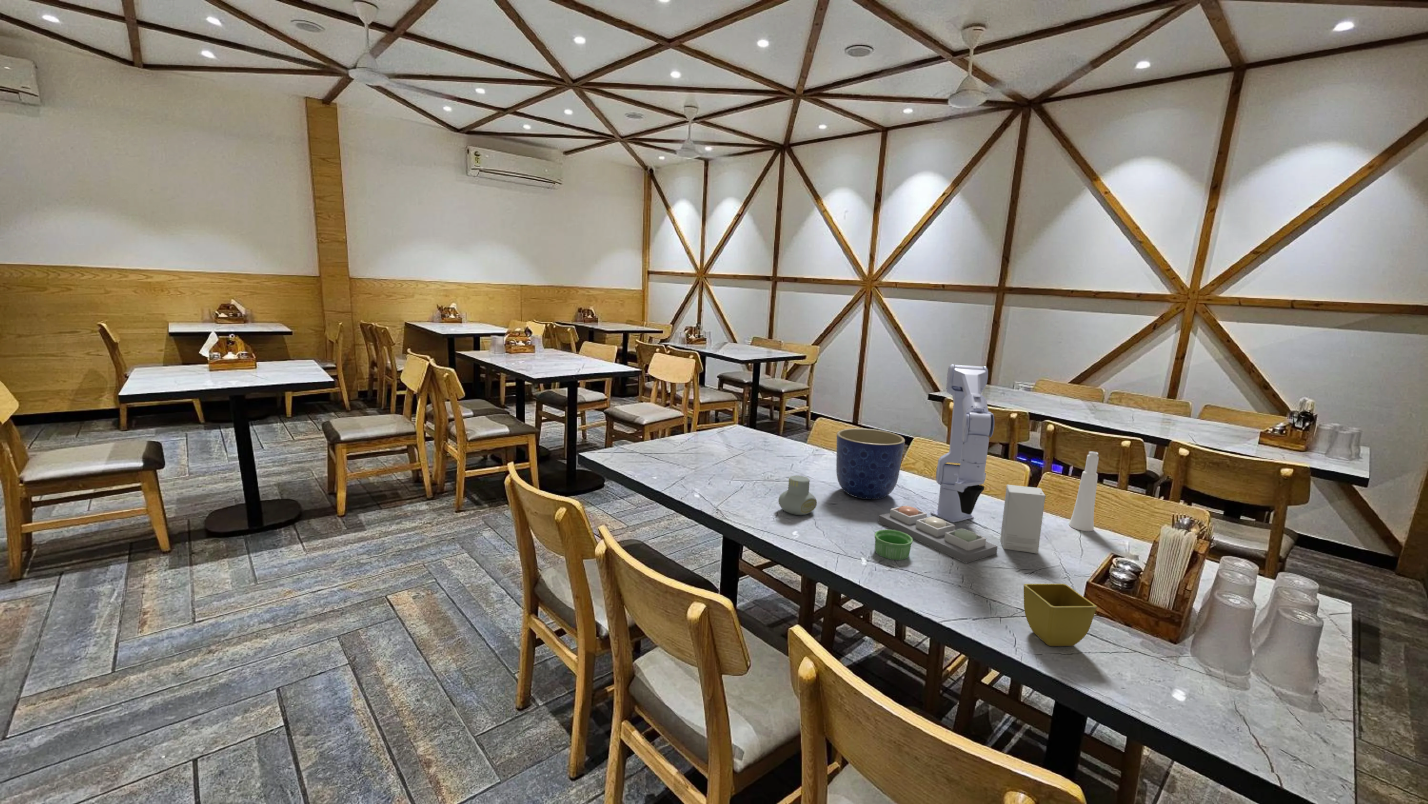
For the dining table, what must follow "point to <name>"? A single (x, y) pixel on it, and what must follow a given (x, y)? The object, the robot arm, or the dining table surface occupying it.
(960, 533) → the sage button
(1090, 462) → the cosmetic bottle
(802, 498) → the air freshener
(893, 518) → the button panel
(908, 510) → the terracotta button
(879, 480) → the planter
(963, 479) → the robot arm
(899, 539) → the ramekin
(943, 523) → the cream button
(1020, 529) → the skincare box
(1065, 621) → the flower pot
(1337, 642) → the dining table surface
